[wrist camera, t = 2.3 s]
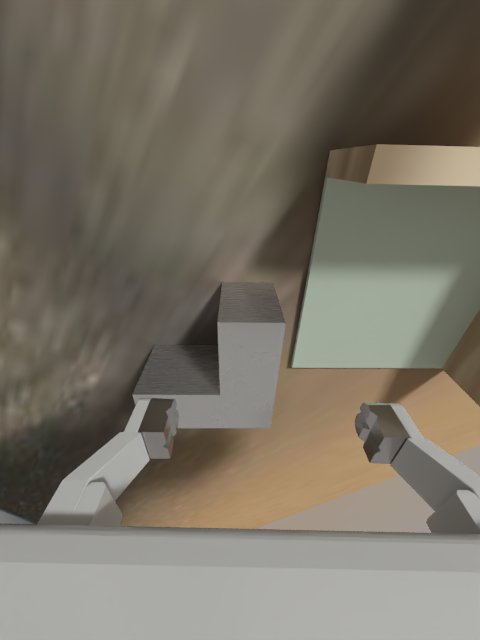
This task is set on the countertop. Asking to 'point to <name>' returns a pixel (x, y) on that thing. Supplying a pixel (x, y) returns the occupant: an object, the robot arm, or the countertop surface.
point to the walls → (421, 169)
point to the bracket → (224, 364)
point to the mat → (390, 276)
